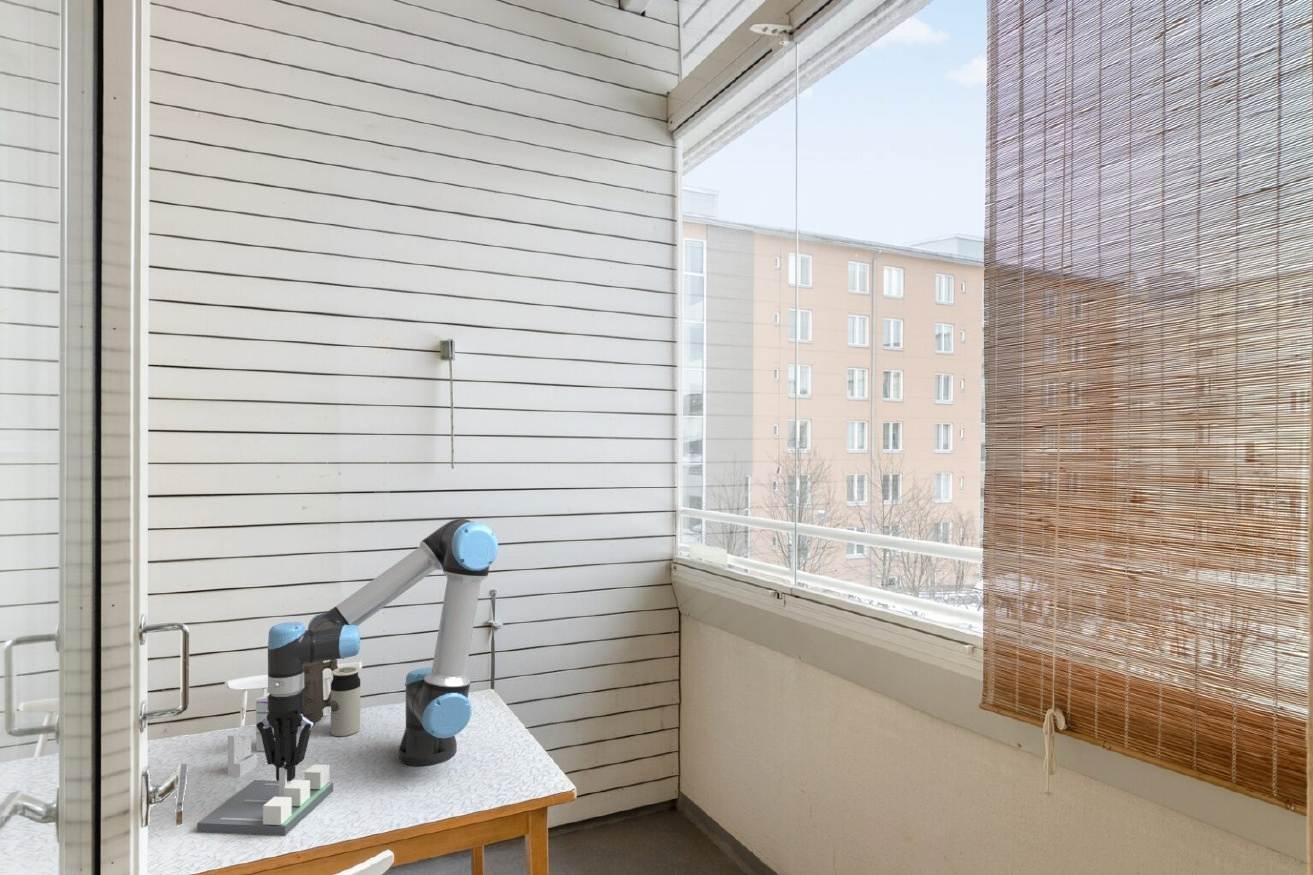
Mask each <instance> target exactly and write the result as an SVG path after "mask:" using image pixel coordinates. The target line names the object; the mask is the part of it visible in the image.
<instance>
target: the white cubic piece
mask: <svg viewBox="0 0 1313 875" xmlns="http://www.w3.org/2000/svg"><path fill="white" fill-rule="evenodd" d="M303 774H304V778H303V780H310V789H321V788H323V787H324V786H325V785H326V784H327V783H330V764H312V765H311V766H310V767H309V768H307V769H306V770H305V771H304V773H303Z"/></svg>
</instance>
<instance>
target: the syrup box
mask: <svg viewBox="0 0 1313 875" xmlns="http://www.w3.org/2000/svg"><path fill="white" fill-rule="evenodd" d="M269 694H270V693H268V692H267V693H266V694H263V695H261V697H259V698H256V699H255V745H256V746H255V748H256V749H255V750H256V751H258V752H265V750H264V746H263V741H262V737H261V733H260V731H259V730H258V728H257V724H258V723H259V722H261V721H262V720H264V719H266V718H267V715H268V713H269V711H268V695H269ZM271 727H272V726H271ZM272 731H273V735H274V729H273V728H272ZM274 740H275V738H274Z"/></svg>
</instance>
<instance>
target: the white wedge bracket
mask: <svg viewBox="0 0 1313 875" xmlns="http://www.w3.org/2000/svg"><path fill="white" fill-rule="evenodd" d="M255 766H257V767H258V754H255V753H252V740H251V739H248V738H242V737H239V736H234V735H228V736H227V775H228V776H235V777H242V776H243V775H245V774H247V773H249V772H250V771H252V770H253V768H254V767H255ZM255 768H256V767H255ZM255 768H254V769H255ZM251 769H252V770H251ZM246 772H247V773H246ZM244 773H245V774H244Z"/></svg>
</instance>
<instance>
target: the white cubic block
mask: <svg viewBox="0 0 1313 875" xmlns="http://www.w3.org/2000/svg"><path fill="white" fill-rule="evenodd" d="M283 797H292V806H301V805H302V804H303V803H304V802H306V801H307V800H308V799H309V798H310V780H304V779H293V780H292V781H291V782H290V783H289V784H288V785H287V786H285V787H284V792H283Z"/></svg>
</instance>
